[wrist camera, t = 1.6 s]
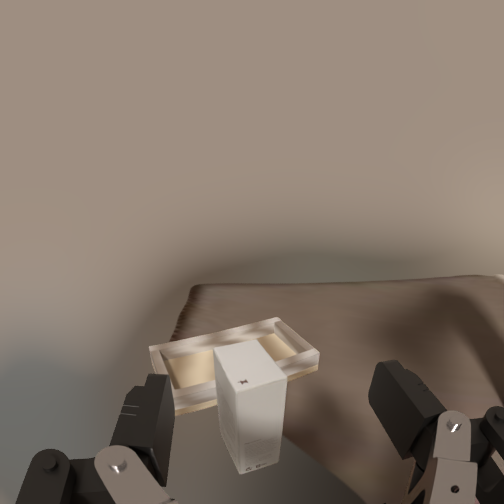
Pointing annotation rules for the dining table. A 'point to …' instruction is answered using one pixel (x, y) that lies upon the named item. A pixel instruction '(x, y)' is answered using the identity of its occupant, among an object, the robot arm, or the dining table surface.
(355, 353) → the dining table surface
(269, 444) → the skincare box
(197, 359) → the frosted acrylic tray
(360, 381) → the dining table surface
